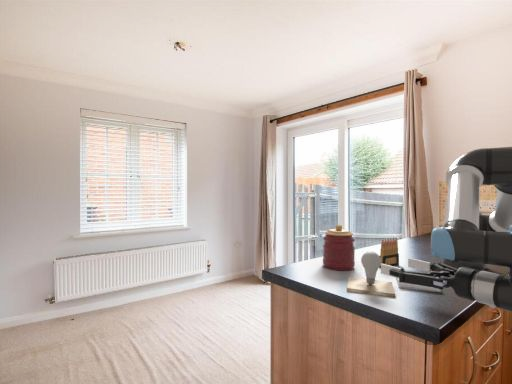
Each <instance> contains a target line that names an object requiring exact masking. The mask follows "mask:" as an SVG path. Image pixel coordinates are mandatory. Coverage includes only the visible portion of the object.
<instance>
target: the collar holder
mask: <svg viewBox="0 0 512 384" xmlns="http://www.w3.org/2000/svg"><path fill="white" fill-rule="evenodd" d="M395 281H396V283H397V286H398V288H399V289H407V290H408V289H409V290H418V291H424V292H425V291H426V292H434V293H435V292H436V293H442V292H441V291H442V289H441V290H440V289H437V288H433V287H427V286H421V285H415V284H409V283H403V282H399V278H396V277H395Z"/></svg>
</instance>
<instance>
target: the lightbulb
mask: <svg viewBox="0 0 512 384" xmlns="http://www.w3.org/2000/svg"><path fill="white" fill-rule="evenodd" d="M360 260H361V261H360V262H361V265H362V266H363V268H364V273H365V279H366V281H367V283H368V284H369V285H372V284H374V283H375V280H376V278H377V272H378V270H379V269H380V265H381V258H380V255H379V254H378V253H377V252H374V251H366V252H364V254H362V256H361V259H360Z"/></svg>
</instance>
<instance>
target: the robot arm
mask: <svg viewBox="0 0 512 384" xmlns="http://www.w3.org/2000/svg"><path fill="white" fill-rule="evenodd" d="M445 183H446V185H447V186H448V187H447V196H446V202H445V210H444V216H443V217H444V218H443V223H442V226H441V227H434V228H432V231H431V235H430V253H431V254H432V256H433V257H436V258H438V259H442V262H437V263H436V262H430V261H425V260H420V259H415V258H412V257H409V258H408V259H407V262H408V263H407V265H408V268H411V269H414V270H420V271H413V270H405V268H404V267H398V266H390V265H386V264H381V268H380V274H382V275H386V276H389V277H393V278H395V279H396V278H399V282H403V283H409V284H415V285H421V286H427V287H433V288H437V289H440V290H441V291H442V290H443V289H444V288H446V289H449V288H452V289H453V291H454V294H455V295H456V297H457V296H458V297H459V298H460V299H461V298H462V299H465V300H468V301H471V302H474V301H476V302H477V303H480V304H483V305H486V306H489V308H491V309H495V308H497V309H500V310H504V311H507V312H510V313H512V146H504V147H490V148H487V147H485V148H477V149H473V150H471V151H468V152H466V153H465V154H461V156H459V157H458V158H456V159H455V160H454V161H453V162H452V163H451V165H450V166H448V168H447V171H446V173H445ZM481 186H493V187H494V188H495V189H496V198H495V207H494V211H493V212H492V213H491V214H489V215H488V214H486V215H485V214H483V213H482V211H480V187H481ZM487 265H488V266H497V267H505V268H507V269H508V270H507V274H508V275H504V274H501V273H495V272H492V271H491V272H490V271H487V270H486V269H487Z"/></svg>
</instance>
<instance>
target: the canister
mask: <svg viewBox="0 0 512 384" xmlns="http://www.w3.org/2000/svg"><path fill="white" fill-rule="evenodd" d="M324 234H325V236H323V237H322V240H323V241H324V242H323V245H322V247H323V249H322V251H323V252H322V266H323V267H324V268H325V269H329V270H333V271H334V270H335V271H351V270H353V269H355V266H356V264H355V263H356V261H355V251H356V247H355V243H354V242H355V241H356V239H355V238H354V237H353V235H354V233H353V232H352V231H350V230H349V229H345V228H344V229H343V226H342V225H341V224H337V225H336V226H335V228H331V229H330V228H329V229H328V230H326V231H324Z"/></svg>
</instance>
